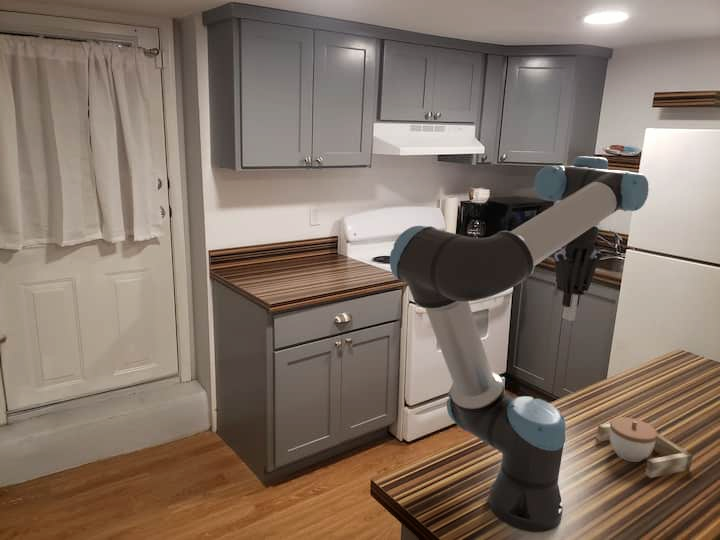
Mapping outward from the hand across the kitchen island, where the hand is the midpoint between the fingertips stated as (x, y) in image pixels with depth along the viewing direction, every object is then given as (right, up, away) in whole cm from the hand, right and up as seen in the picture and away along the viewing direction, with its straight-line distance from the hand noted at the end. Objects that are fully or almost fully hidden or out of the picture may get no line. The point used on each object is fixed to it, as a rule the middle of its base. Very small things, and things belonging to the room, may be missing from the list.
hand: (568, 318), depth 138 cm
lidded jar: (+17, -35, +5) cm, 40 cm away
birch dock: (+21, -35, +6) cm, 41 cm away
